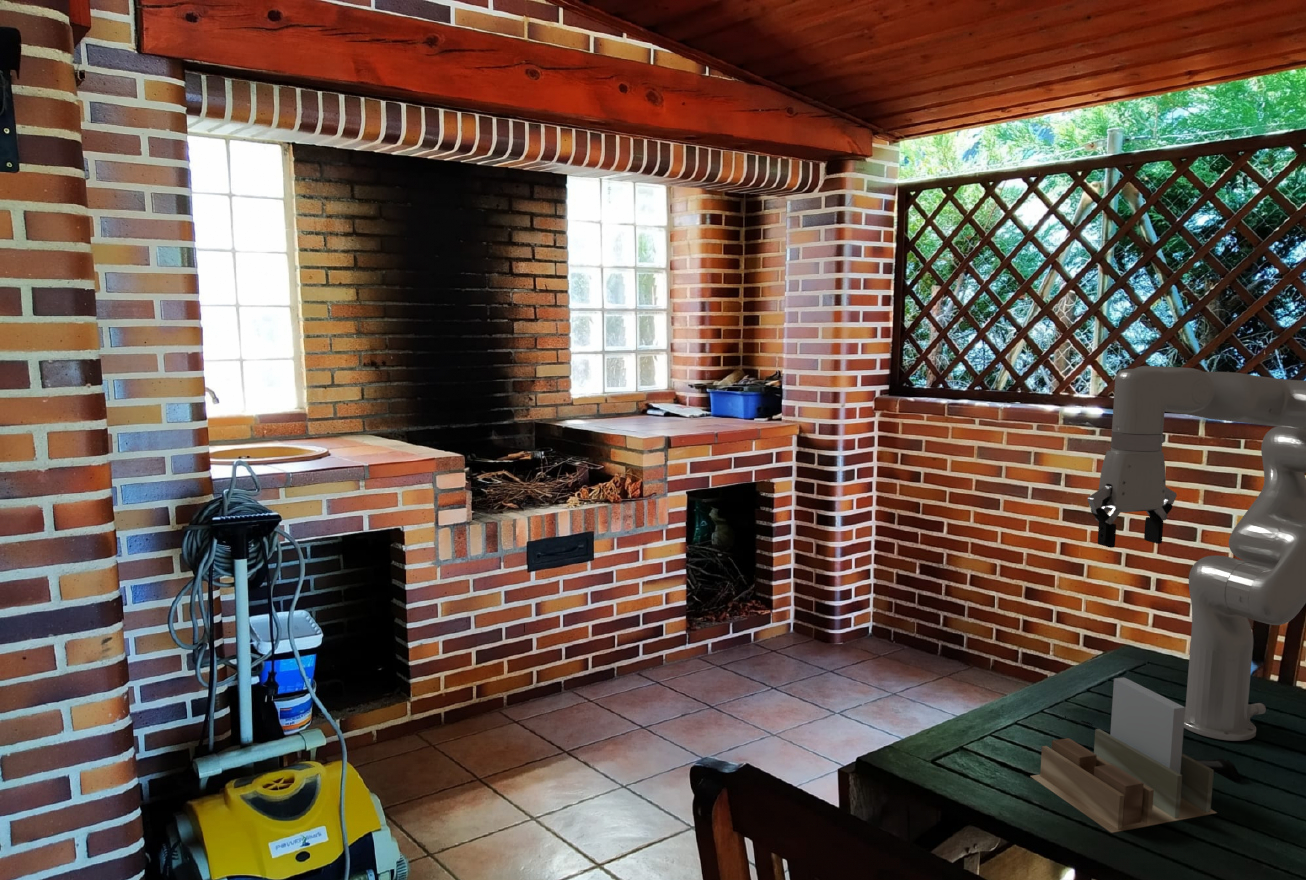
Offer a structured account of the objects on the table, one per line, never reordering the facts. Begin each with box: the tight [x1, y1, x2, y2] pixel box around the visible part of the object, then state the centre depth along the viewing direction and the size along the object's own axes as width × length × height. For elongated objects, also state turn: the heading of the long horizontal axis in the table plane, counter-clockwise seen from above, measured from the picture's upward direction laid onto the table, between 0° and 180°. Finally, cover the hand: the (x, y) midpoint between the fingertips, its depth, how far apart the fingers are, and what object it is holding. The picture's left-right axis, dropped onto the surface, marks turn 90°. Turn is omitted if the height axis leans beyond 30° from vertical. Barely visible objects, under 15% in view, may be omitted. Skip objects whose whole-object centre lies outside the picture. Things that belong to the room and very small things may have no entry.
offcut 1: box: [1051, 737, 1097, 776], centre depth 141 cm, size 3×6×6 cm, turn 16°
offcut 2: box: [1094, 764, 1144, 826], centre depth 133 cm, size 3×6×6 cm, turn 16°
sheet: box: [1109, 677, 1186, 774], centre depth 141 cm, size 2×12×15 cm, turn 15°
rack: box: [1030, 728, 1218, 834], centre depth 138 cm, size 19×17×8 cm
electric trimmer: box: [1193, 757, 1242, 782], centre depth 148 cm, size 4×16×3 cm, turn 86°
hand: (1129, 543), depth 152 cm, fingers open, 9 cm apart
